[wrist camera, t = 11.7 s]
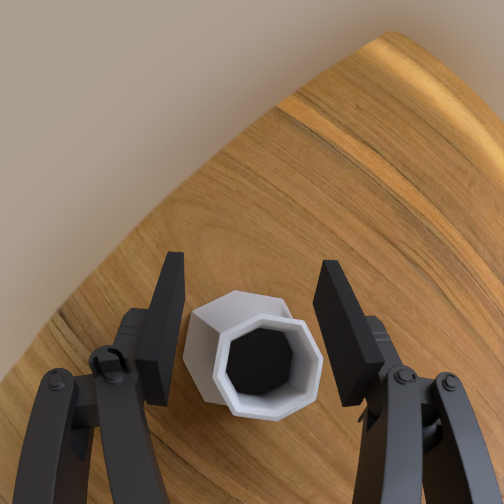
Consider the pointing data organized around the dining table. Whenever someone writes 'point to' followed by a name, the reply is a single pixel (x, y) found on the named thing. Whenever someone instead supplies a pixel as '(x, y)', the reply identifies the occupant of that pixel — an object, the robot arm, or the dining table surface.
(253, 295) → the flask
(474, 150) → the dining table surface
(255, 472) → the dining table surface
